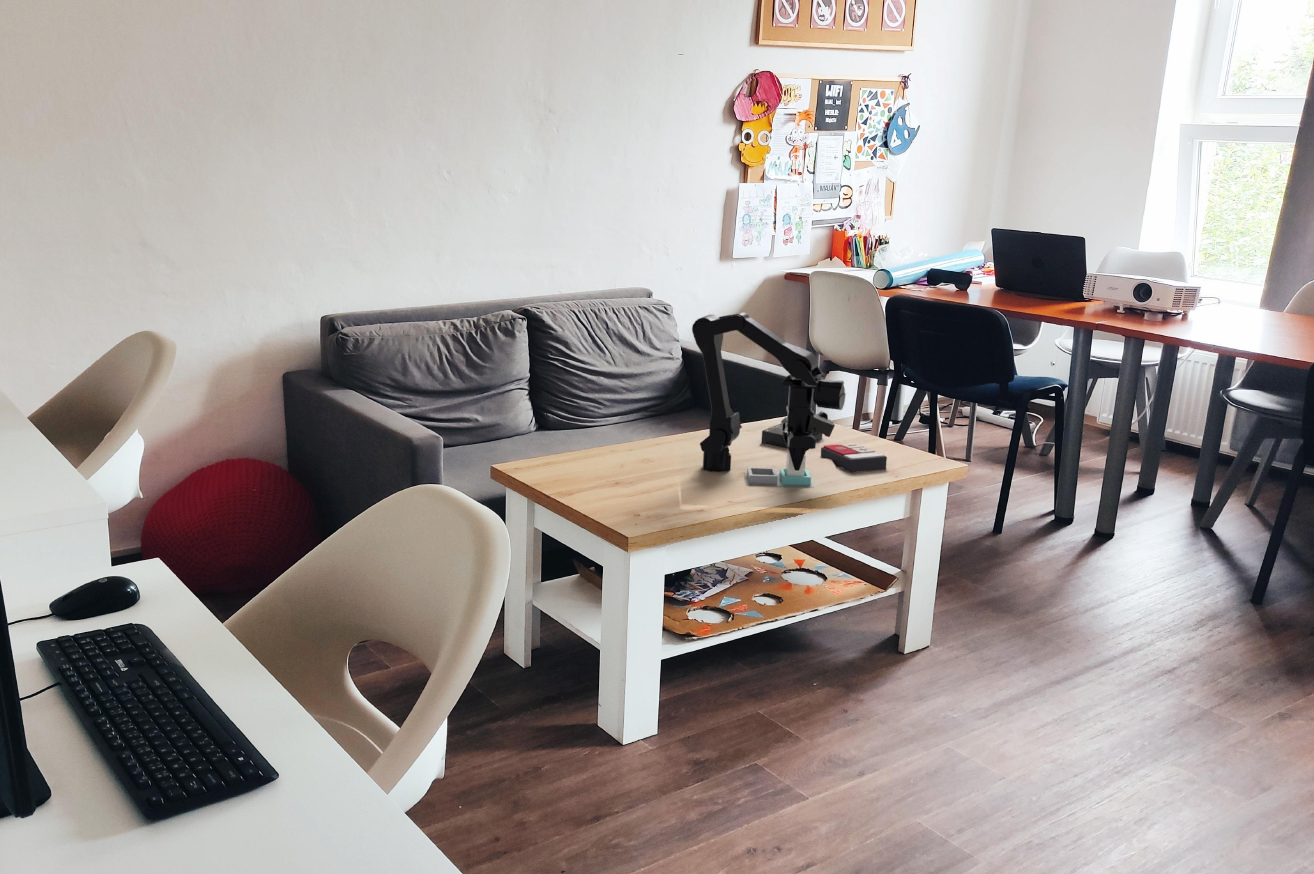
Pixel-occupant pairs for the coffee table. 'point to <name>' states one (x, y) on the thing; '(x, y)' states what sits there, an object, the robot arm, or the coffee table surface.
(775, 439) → the black antenna base
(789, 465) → the plug
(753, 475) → the compartment tray
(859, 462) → the calculator
